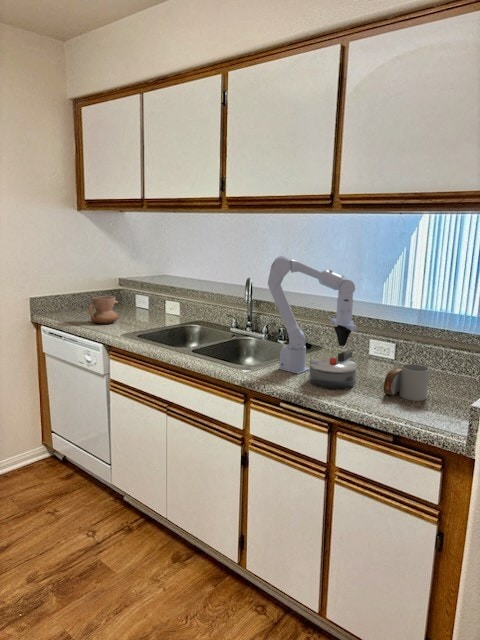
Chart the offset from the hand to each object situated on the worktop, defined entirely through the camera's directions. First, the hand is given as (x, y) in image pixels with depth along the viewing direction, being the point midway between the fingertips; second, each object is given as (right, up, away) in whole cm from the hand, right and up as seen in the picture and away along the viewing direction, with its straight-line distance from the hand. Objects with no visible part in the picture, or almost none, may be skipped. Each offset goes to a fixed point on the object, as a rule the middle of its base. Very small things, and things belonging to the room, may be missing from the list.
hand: (342, 345), depth 185 cm
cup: (+19, -16, -23) cm, 34 cm away
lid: (-4, -6, -10) cm, 13 cm away
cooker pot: (-4, -12, -9) cm, 16 cm away
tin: (+14, -15, -19) cm, 28 cm away
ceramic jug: (-114, +8, +81) cm, 140 cm away
